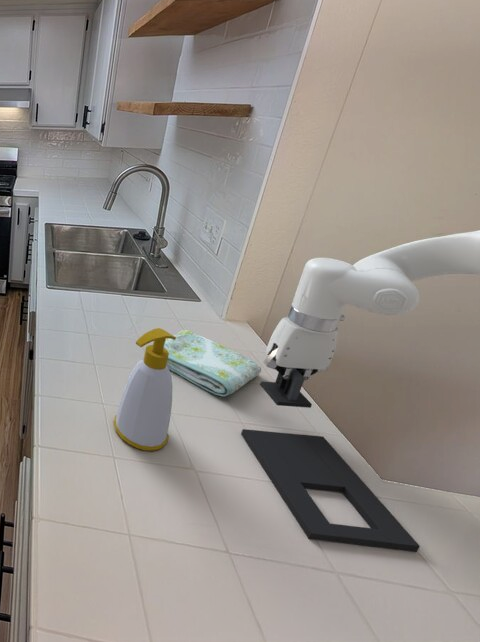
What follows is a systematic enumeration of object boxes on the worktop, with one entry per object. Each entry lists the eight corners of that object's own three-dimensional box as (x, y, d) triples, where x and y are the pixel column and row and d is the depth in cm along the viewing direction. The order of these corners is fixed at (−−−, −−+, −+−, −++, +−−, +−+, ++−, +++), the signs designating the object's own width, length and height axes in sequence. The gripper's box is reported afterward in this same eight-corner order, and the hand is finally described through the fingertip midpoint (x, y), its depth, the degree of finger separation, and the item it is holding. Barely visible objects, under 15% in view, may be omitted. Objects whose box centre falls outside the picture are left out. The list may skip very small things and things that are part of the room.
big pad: (320, 441, 83) (323, 436, 82) (416, 552, 63) (420, 546, 62) (240, 434, 85) (242, 429, 84) (308, 539, 65) (311, 533, 64)
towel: (182, 338, 118) (186, 324, 116) (260, 376, 102) (266, 361, 100) (146, 358, 109) (149, 343, 107) (225, 404, 93) (231, 387, 91)
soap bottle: (101, 421, 88) (117, 324, 78) (138, 406, 92) (158, 312, 82) (139, 460, 79) (163, 355, 69) (179, 441, 83) (207, 340, 73)
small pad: (291, 386, 88) (300, 361, 85) (310, 407, 82) (321, 381, 79) (259, 384, 88) (267, 359, 86) (276, 405, 82) (286, 379, 80)
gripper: (341, 310, 80) (313, 381, 87) (259, 307, 82) (238, 376, 89) (371, 330, 73) (338, 405, 80) (281, 326, 75) (257, 399, 82)
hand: (286, 389), depth 84 cm, fingers closed on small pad, 1 cm apart
